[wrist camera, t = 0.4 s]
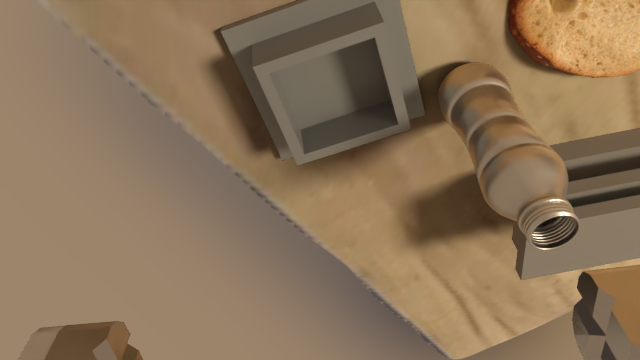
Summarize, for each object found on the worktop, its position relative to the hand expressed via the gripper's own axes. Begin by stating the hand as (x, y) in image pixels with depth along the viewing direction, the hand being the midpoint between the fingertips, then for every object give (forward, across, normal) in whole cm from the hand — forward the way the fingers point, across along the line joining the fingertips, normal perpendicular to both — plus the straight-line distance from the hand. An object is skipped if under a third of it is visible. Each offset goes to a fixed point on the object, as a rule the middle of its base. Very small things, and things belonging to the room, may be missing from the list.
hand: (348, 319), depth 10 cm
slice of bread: (+43, -26, +10) cm, 51 cm away
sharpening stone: (+45, -27, +29) cm, 60 cm away
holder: (+40, +1, +12) cm, 42 cm away
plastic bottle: (+42, -12, +16) cm, 47 cm away
